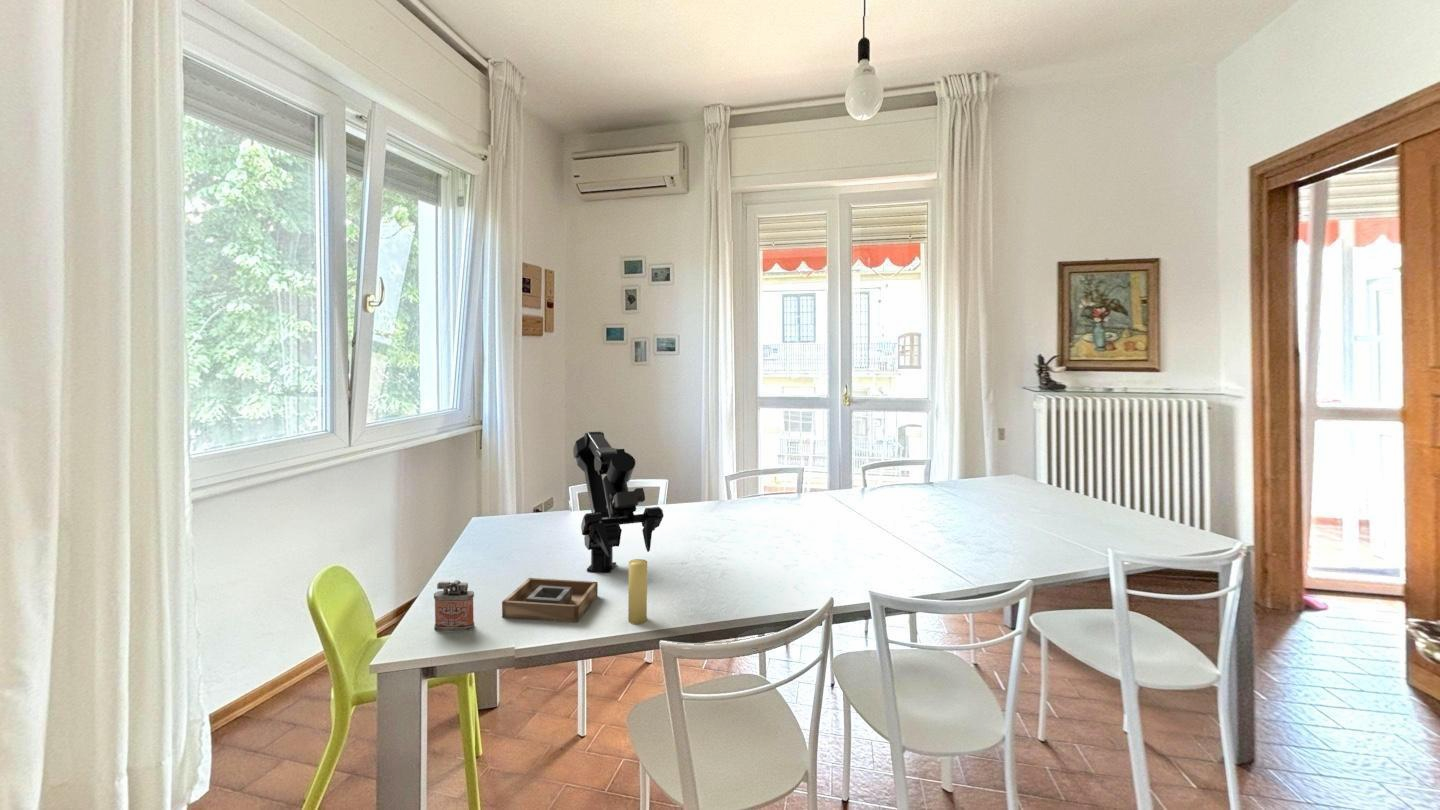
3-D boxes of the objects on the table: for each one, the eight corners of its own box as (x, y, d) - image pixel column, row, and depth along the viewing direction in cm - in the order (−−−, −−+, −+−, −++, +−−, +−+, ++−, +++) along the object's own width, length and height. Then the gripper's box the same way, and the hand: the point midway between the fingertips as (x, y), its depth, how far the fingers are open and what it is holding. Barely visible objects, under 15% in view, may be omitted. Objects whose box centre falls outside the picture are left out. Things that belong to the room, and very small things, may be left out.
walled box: (529, 591, 141) (529, 576, 141) (597, 596, 139) (597, 580, 139) (502, 617, 127) (502, 600, 127) (577, 622, 125) (577, 605, 125)
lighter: (477, 624, 124) (476, 578, 123) (470, 631, 120) (470, 584, 119) (438, 624, 123) (437, 578, 123) (431, 631, 120) (430, 584, 119)
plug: (630, 615, 129) (631, 558, 128) (648, 616, 129) (649, 559, 128) (626, 623, 125) (626, 564, 124) (644, 624, 125) (644, 566, 124)
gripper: (583, 479, 132) (593, 540, 123) (661, 474, 140) (676, 531, 131) (577, 505, 140) (586, 564, 131) (651, 498, 147) (664, 554, 138)
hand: (629, 553), depth 132 cm, fingers open, 9 cm apart
